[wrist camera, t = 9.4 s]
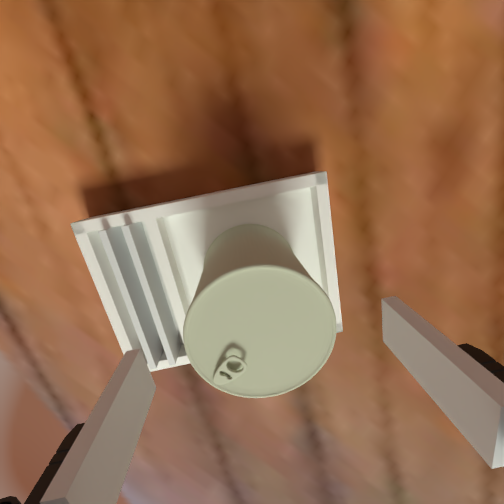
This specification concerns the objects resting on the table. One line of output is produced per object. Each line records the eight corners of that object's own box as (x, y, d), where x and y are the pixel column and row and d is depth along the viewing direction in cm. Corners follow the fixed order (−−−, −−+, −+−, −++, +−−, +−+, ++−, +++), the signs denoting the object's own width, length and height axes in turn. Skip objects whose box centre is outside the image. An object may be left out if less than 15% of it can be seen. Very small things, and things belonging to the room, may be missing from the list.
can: (184, 275, 26) (146, 355, 15) (244, 203, 25) (253, 230, 13) (254, 325, 28) (269, 428, 17) (313, 262, 27) (373, 329, 15)
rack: (88, 217, 25) (62, 226, 21) (315, 171, 25) (330, 171, 21) (141, 355, 30) (128, 382, 26) (332, 316, 30) (346, 337, 26)
